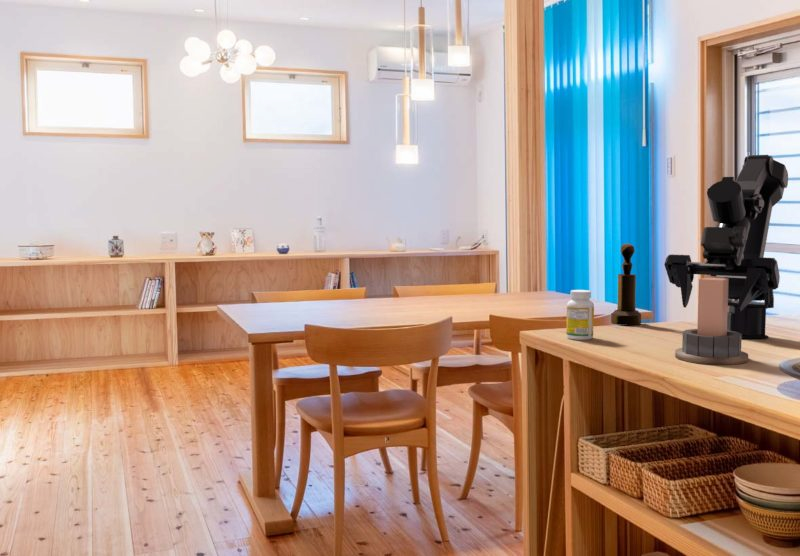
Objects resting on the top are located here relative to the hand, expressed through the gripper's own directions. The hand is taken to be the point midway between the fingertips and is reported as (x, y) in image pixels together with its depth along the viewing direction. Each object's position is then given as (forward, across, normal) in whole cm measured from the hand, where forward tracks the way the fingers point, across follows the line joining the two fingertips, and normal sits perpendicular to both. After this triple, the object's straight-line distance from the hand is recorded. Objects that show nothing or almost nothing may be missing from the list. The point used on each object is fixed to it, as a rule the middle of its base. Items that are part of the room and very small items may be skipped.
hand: (711, 307), depth 144 cm
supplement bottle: (0, -28, +13) cm, 30 cm away
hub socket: (+6, 0, +7) cm, 9 cm away
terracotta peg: (+5, 0, +6) cm, 8 cm away
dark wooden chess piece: (-17, -27, +30) cm, 44 cm away
